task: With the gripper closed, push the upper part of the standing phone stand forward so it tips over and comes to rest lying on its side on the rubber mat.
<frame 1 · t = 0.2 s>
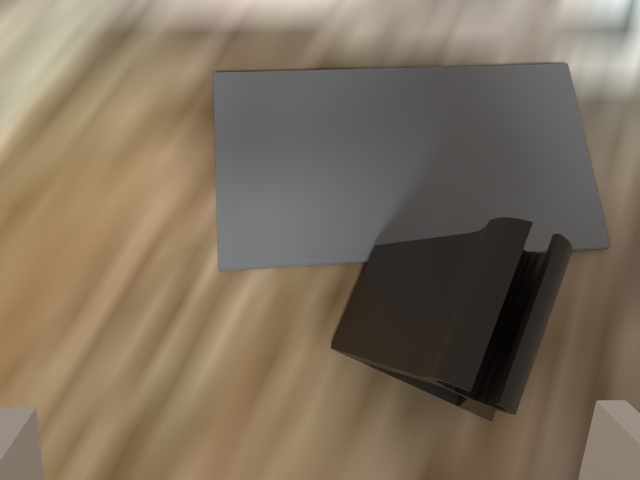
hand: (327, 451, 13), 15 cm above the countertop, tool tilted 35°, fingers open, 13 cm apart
phone stand: (428, 331, 30), on the countertop, touching mat
mat: (406, 160, 32), on the countertop
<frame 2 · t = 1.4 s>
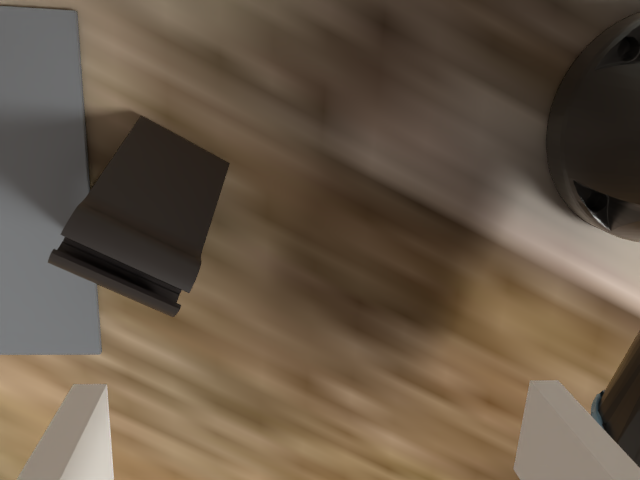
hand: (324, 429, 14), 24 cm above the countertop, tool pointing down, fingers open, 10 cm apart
phone stand: (154, 199, 36), on the countertop, touching mat
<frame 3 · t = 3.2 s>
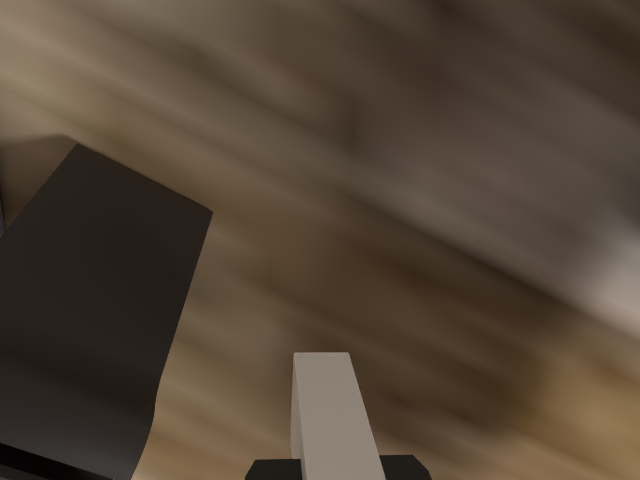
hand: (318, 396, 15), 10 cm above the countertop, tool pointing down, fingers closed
phone stand: (103, 263, 24), on the countertop, touching mat
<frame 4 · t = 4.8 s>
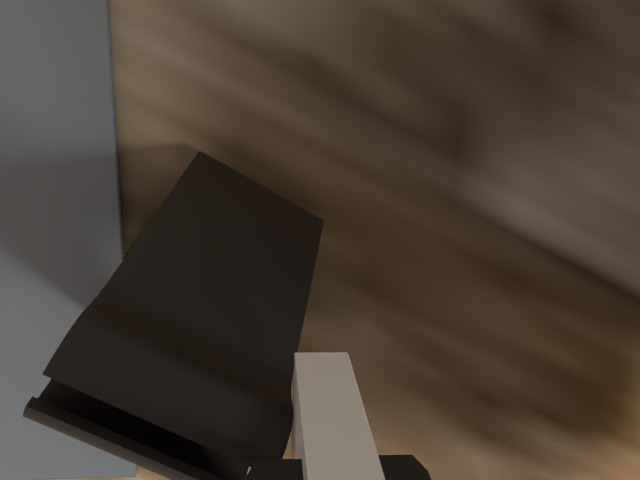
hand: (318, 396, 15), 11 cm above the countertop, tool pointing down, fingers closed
phone stand: (214, 269, 25), on the countertop, touching gripper, mat
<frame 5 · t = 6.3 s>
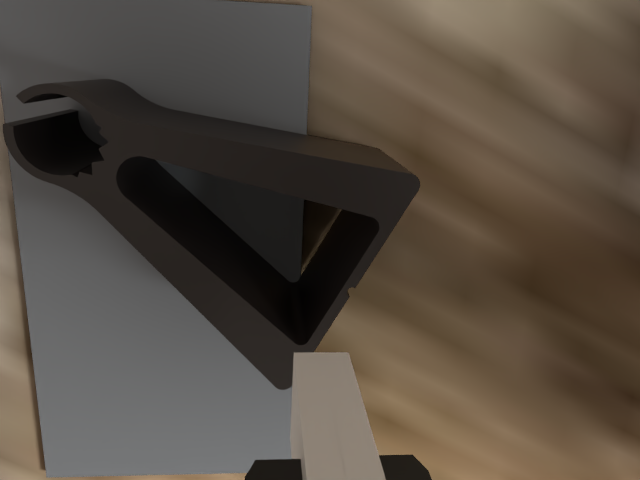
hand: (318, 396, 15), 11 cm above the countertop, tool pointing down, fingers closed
phone stand: (345, 265, 22), point 3 cm above the countertop, touching mat
mat: (166, 264, 25), on the countertop
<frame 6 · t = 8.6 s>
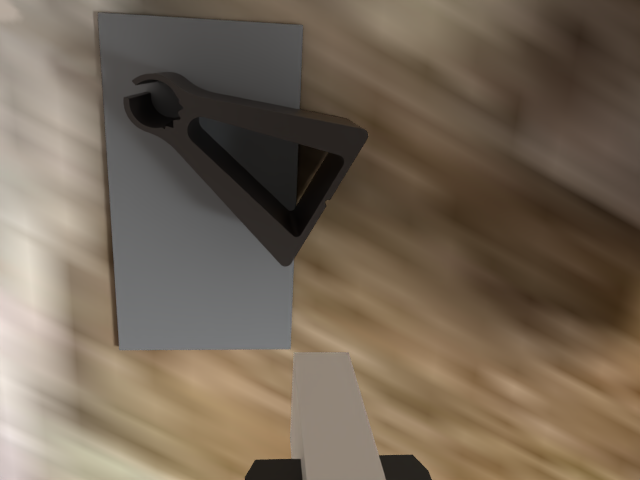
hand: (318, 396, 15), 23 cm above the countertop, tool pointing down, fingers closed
phone stand: (325, 193, 34), point 3 cm above the countertop, touching mat
mat: (205, 197, 37), on the countertop
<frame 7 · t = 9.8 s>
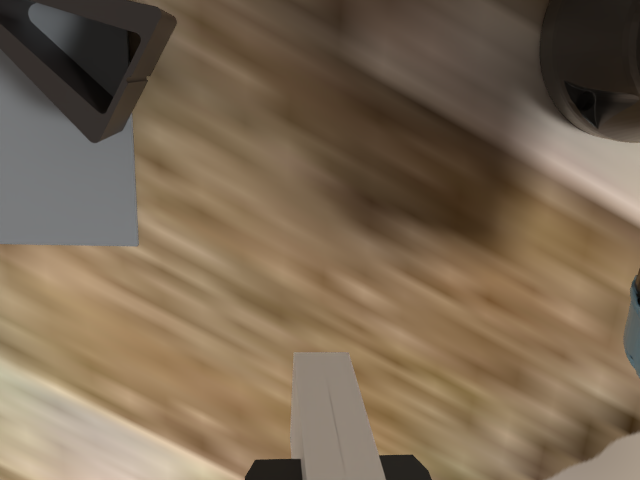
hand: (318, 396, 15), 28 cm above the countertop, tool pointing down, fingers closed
phone stand: (142, 80, 36), point 3 cm above the countertop, touching mat
mat: (42, 93, 39), on the countertop
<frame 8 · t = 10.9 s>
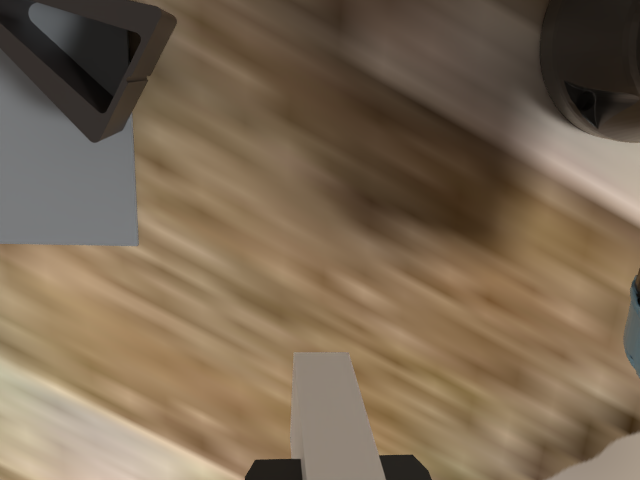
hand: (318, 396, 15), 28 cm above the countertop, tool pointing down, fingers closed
phone stand: (142, 80, 36), point 3 cm above the countertop, touching mat
mat: (42, 92, 39), on the countertop
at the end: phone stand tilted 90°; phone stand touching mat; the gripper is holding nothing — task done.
